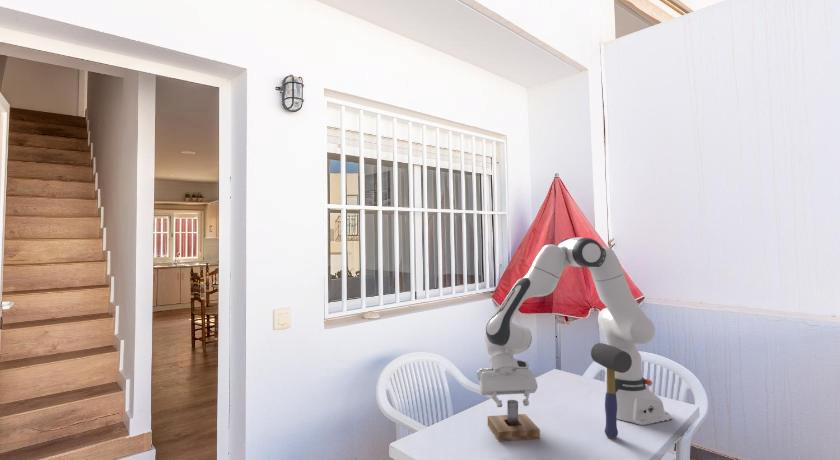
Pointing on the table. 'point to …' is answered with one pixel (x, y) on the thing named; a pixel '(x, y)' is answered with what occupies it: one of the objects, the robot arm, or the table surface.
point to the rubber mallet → (611, 379)
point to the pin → (512, 413)
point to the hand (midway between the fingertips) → (513, 405)
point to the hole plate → (513, 428)
